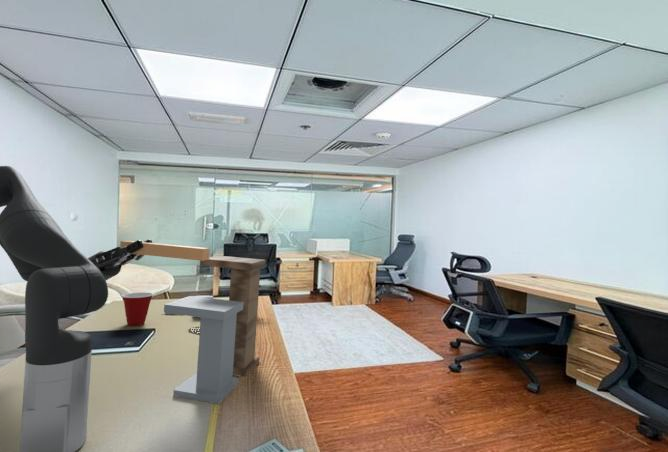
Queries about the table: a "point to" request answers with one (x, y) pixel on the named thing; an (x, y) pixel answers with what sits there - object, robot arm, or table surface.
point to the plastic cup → (136, 307)
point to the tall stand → (246, 291)
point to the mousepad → (194, 330)
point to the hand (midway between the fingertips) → (146, 243)
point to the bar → (171, 251)
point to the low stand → (210, 347)
